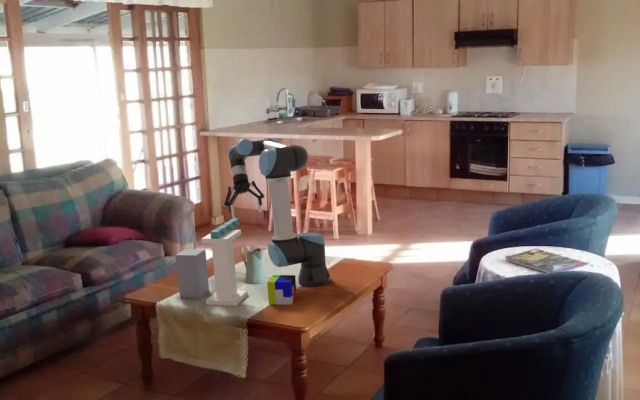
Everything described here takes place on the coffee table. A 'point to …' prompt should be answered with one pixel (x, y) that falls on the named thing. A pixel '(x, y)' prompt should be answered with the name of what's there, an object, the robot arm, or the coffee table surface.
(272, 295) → the puzzle toy
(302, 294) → the coffee table surface
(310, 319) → the coffee table surface
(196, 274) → the slate block
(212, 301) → the off-white stand
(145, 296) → the coffee table surface
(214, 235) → the teal bar
